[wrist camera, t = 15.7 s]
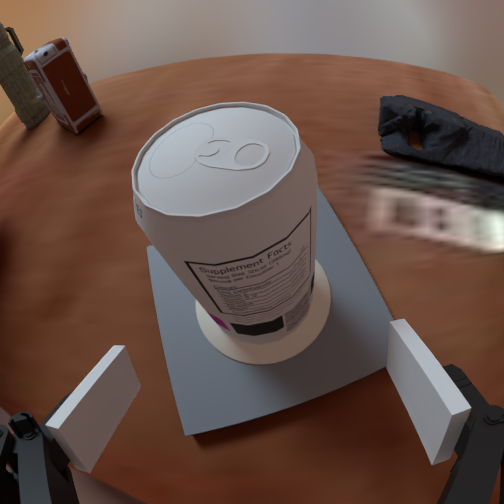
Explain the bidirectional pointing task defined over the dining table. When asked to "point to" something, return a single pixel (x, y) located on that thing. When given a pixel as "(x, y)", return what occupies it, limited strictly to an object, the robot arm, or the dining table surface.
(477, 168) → the crumpled black cloth
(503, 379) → the dining table surface
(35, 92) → the thermos
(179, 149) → the supplement can
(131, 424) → the dining table surface
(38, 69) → the cine camera
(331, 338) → the board
